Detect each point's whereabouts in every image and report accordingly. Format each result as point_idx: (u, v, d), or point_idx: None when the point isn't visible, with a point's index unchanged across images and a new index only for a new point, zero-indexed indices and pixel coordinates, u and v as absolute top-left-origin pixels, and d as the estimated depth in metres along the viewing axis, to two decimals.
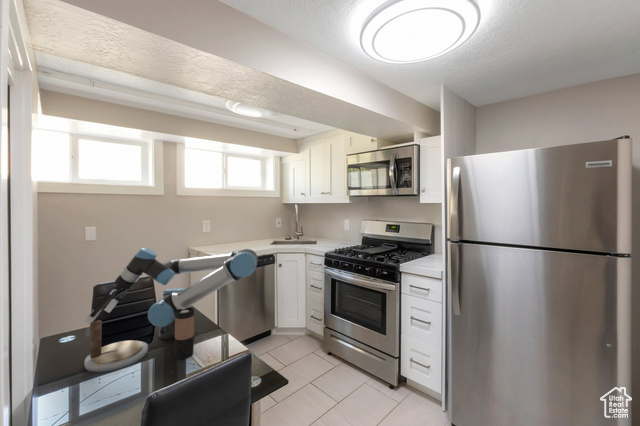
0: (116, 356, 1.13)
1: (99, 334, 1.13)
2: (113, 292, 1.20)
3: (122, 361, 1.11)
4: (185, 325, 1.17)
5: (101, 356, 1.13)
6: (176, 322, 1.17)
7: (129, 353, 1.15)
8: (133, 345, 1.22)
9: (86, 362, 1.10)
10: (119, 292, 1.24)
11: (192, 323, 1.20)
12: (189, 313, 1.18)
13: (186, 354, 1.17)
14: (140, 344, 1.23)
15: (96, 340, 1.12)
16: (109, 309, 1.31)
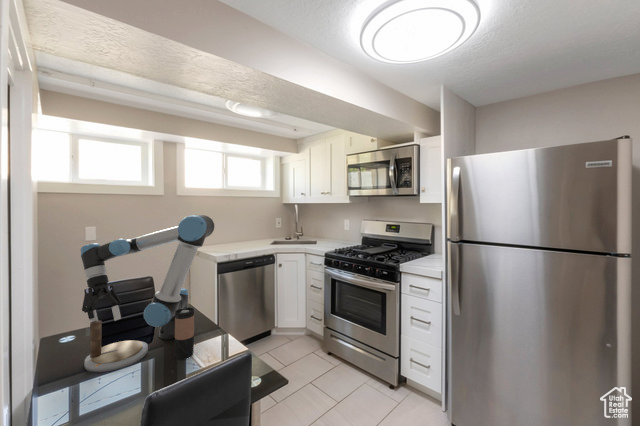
0: (116, 356, 1.13)
1: (99, 334, 1.13)
2: (88, 289, 1.18)
3: (122, 361, 1.11)
4: (185, 325, 1.17)
5: (101, 356, 1.13)
6: (176, 322, 1.17)
7: (129, 353, 1.15)
8: (133, 345, 1.22)
9: (86, 362, 1.10)
10: (99, 289, 1.23)
11: (192, 323, 1.20)
12: (189, 313, 1.18)
13: (186, 354, 1.17)
14: (140, 344, 1.23)
15: (96, 340, 1.12)
16: (118, 316, 1.28)
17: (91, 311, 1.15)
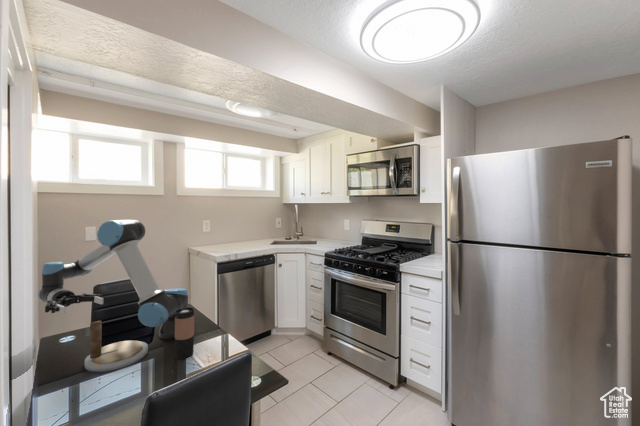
0: (117, 356, 1.13)
1: (99, 334, 1.13)
2: (47, 302, 1.19)
3: (122, 361, 1.11)
4: (185, 325, 1.17)
5: (102, 356, 1.13)
6: (176, 322, 1.17)
7: (130, 352, 1.16)
8: (133, 345, 1.23)
9: (86, 362, 1.10)
10: (62, 298, 1.23)
11: (192, 323, 1.20)
12: (189, 313, 1.18)
13: (186, 354, 1.17)
14: (140, 343, 1.24)
15: (97, 341, 1.12)
16: (99, 299, 1.25)
17: (53, 306, 1.14)
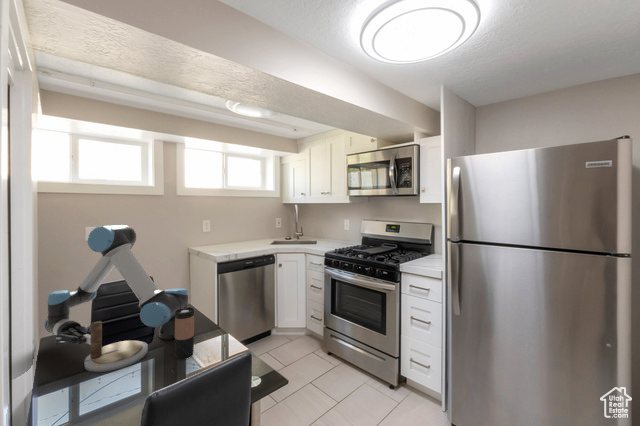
0: (119, 355, 1.14)
1: (100, 335, 1.13)
2: (57, 336, 1.15)
3: (122, 361, 1.11)
4: (185, 325, 1.17)
5: (103, 357, 1.12)
6: (176, 322, 1.17)
7: (132, 351, 1.17)
8: (132, 344, 1.23)
9: (86, 362, 1.10)
10: (69, 330, 1.19)
11: (192, 323, 1.20)
12: (189, 313, 1.18)
13: (186, 354, 1.17)
14: (140, 343, 1.24)
15: (98, 341, 1.12)
16: None
17: (81, 337, 1.15)
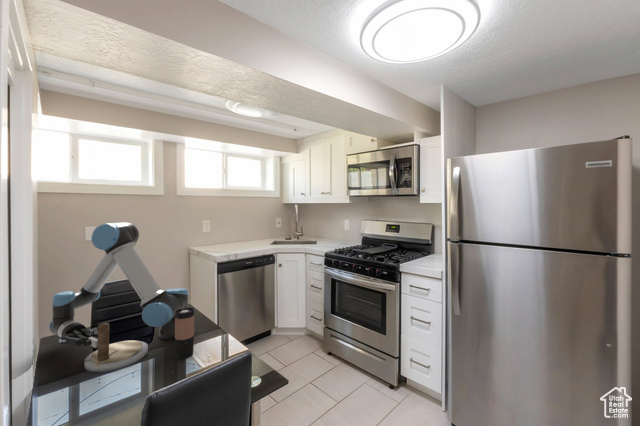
0: (130, 351, 1.17)
1: (108, 335, 1.12)
2: (61, 339, 1.13)
3: (122, 361, 1.11)
4: (185, 325, 1.17)
5: (112, 356, 1.12)
6: (176, 322, 1.17)
7: (138, 346, 1.21)
8: (126, 343, 1.24)
9: (86, 362, 1.10)
10: (73, 333, 1.17)
11: (192, 323, 1.20)
12: (189, 313, 1.18)
13: (186, 354, 1.17)
14: (132, 341, 1.27)
15: (108, 342, 1.11)
16: None
17: (86, 340, 1.12)
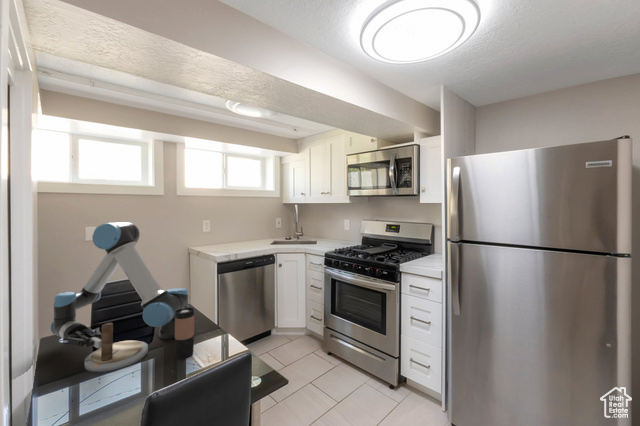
0: (132, 350, 1.18)
1: (112, 335, 1.12)
2: (63, 339, 1.12)
3: (122, 361, 1.11)
4: (185, 325, 1.17)
5: (116, 356, 1.13)
6: (176, 322, 1.17)
7: (139, 345, 1.23)
8: (124, 343, 1.24)
9: (86, 362, 1.10)
10: (75, 333, 1.16)
11: (192, 323, 1.20)
12: (189, 313, 1.18)
13: (186, 354, 1.17)
14: (129, 341, 1.27)
15: (112, 342, 1.11)
16: None
17: (88, 340, 1.12)
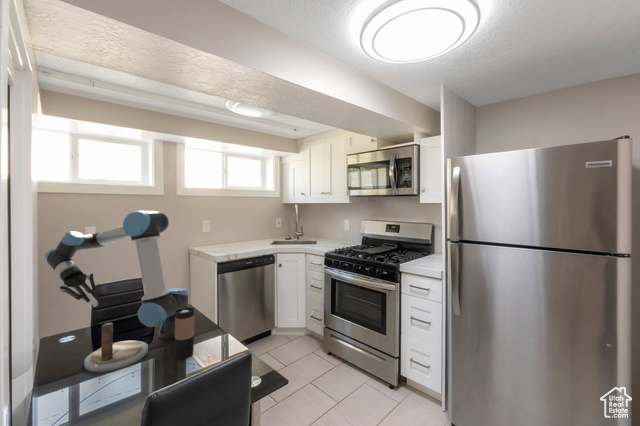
0: (132, 350, 1.18)
1: (112, 335, 1.12)
2: (61, 288, 1.23)
3: (122, 361, 1.11)
4: (185, 325, 1.17)
5: (116, 356, 1.13)
6: (176, 322, 1.17)
7: (139, 345, 1.23)
8: (124, 343, 1.24)
9: (86, 362, 1.10)
10: (71, 281, 1.26)
11: (192, 323, 1.20)
12: (189, 313, 1.18)
13: (186, 354, 1.17)
14: (129, 341, 1.27)
15: (112, 342, 1.11)
16: (93, 301, 1.23)
17: (84, 296, 1.24)
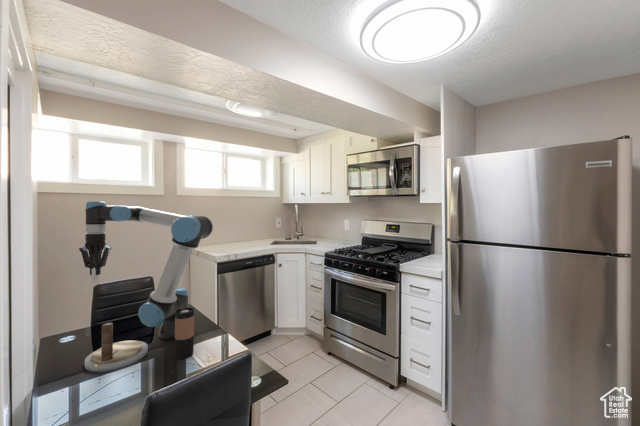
0: (132, 350, 1.18)
1: (112, 335, 1.12)
2: None
3: (122, 361, 1.11)
4: (185, 325, 1.17)
5: (116, 356, 1.13)
6: (176, 322, 1.17)
7: (139, 345, 1.23)
8: (124, 343, 1.24)
9: (86, 362, 1.10)
10: None
11: (192, 323, 1.20)
12: (189, 313, 1.18)
13: (186, 354, 1.17)
14: (129, 341, 1.27)
15: (112, 342, 1.11)
16: None
17: (90, 269, 1.31)
